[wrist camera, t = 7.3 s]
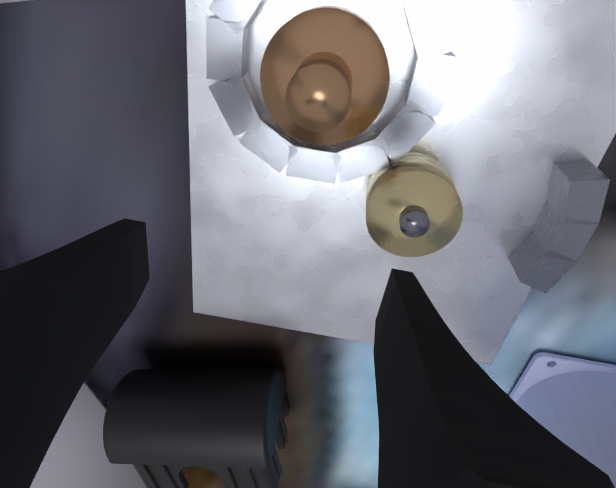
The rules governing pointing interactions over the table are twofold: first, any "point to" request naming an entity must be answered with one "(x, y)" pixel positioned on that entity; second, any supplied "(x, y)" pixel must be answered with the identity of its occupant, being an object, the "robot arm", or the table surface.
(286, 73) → the gear
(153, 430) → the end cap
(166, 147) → the table surface
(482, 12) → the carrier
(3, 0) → the photo printer
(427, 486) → the robot arm
